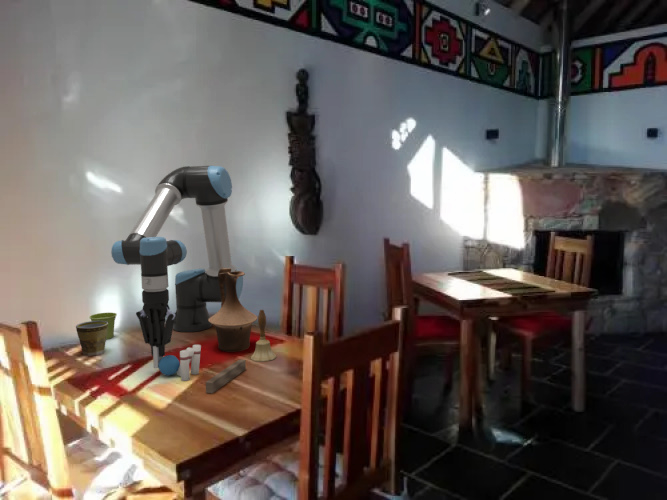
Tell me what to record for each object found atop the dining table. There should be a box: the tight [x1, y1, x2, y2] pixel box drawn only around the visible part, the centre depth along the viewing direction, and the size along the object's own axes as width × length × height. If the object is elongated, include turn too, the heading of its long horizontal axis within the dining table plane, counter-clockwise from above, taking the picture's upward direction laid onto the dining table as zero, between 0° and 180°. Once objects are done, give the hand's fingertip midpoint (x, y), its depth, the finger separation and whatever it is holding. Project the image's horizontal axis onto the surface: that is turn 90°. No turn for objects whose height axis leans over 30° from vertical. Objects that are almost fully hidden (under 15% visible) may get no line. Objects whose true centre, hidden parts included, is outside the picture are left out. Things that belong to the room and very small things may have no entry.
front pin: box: [176, 347, 195, 377], centre depth 158 cm, size 2×2×8 cm
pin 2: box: [190, 344, 202, 376], centre depth 160 cm, size 2×2×8 cm
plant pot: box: [89, 312, 118, 340], centre depth 200 cm, size 9×9×9 cm
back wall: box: [205, 358, 247, 394], centre depth 154 cm, size 20×2×3 cm, turn 163°
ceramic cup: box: [75, 320, 108, 357], centre depth 182 cm, size 13×10×10 cm
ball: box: [158, 354, 180, 376], centre depth 159 cm, size 6×6×6 cm
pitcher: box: [208, 268, 258, 353], centre depth 185 cm, size 18×17×28 cm
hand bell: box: [250, 309, 277, 363], centre depth 174 cm, size 8×8×16 cm
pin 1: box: [179, 349, 190, 382], centre depth 155 cm, size 2×2×8 cm
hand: (158, 366), depth 160 cm, fingers closed
